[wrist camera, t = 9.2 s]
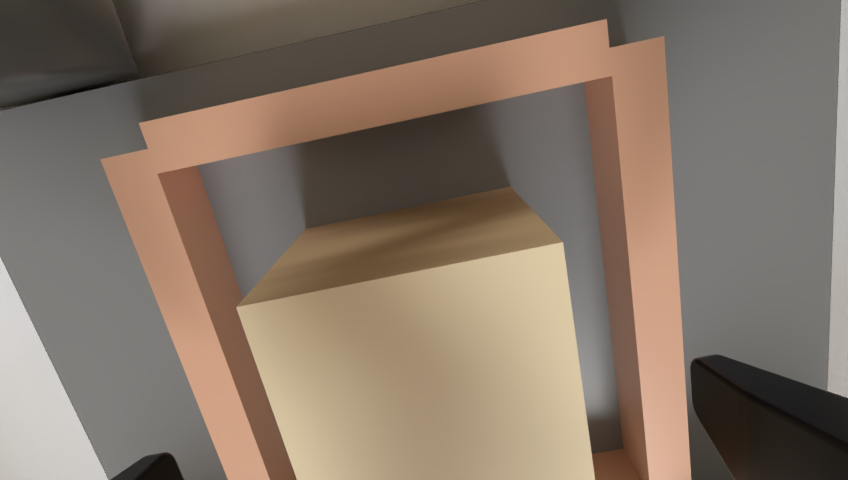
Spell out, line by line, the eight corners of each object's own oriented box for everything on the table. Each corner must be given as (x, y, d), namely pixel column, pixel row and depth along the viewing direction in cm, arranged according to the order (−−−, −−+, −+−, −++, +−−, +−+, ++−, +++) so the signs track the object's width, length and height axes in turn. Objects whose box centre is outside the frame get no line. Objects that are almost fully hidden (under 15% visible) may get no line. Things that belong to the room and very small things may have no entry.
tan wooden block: (510, 186, 11) (563, 242, 7) (545, 400, 13) (605, 552, 9) (305, 228, 12) (236, 307, 7) (365, 433, 13) (337, 595, 9)
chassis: (816, -207, 10) (1187, -492, 5) (801, 518, 15) (975, 713, 10) (-83, 13, 11) (-473, -50, 6) (197, 612, 16) (102, 825, 12)
